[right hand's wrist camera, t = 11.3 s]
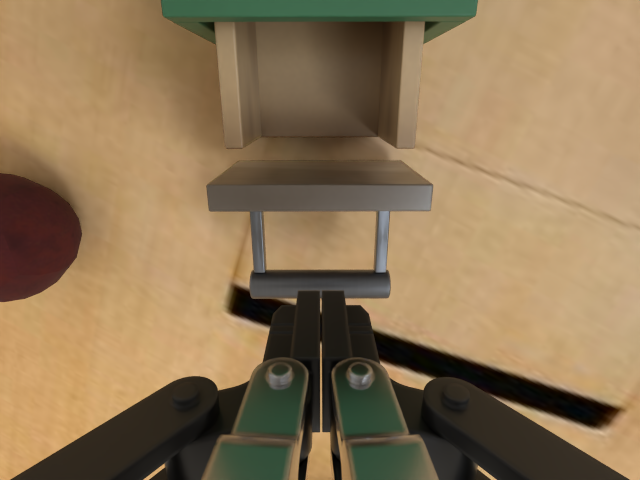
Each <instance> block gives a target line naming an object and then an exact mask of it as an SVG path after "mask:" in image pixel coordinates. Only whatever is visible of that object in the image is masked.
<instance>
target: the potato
mask: <svg viewBox="0 0 640 480" xmlns="http://www.w3.org/2000/svg"><path fill="white" fill-rule="evenodd" d="M81 236H82V232H81V227H80V222H79V218H78V217H77V215H76V214H75V212H74V211H73V209H72V207H71V206H70V204H68V203H67V202H66V201H65V200H64V199H62V198H61V197H60V196H59V195H58V194H56V193H55V192H53V191H52V190H50V189H48V188H46V187H44V186H42V185H39V184H37V183H35V182H33V181H30V180H28V179H26V178H23V177H20V176H16V175H12V174H2V173H0V302H7V301H13V300H20V299H25V298H28V297H30V296H33V295H35V294H38V293H40V292H42V291H44V290H45V289H47V288H48V287H50V286H51V285H53V284H54V283H56V282H57V281H58V280H59V279H60V277H61V276H62V275H63V274H64V272H65V271H66V270H67V269H68V268H69V266H70V265H71V264H72V262H73V261H74V260H75V259H76V257H77V253H78V249H79V245H80V240H81Z"/></svg>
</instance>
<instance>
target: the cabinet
mask: <svg viewBox="0 0 640 480" xmlns="http://www.w3.org/2000/svg"><path fill="white" fill-rule="evenodd" d="M477 3H478V0H161V5H162V13H163V16H164V17H165V18H167V19H169V20H171V21H173V22H174V23H176V24H178V25H180V26H182V27H183V28H185V29H187V30H189V31H191V32H193V33H195V34H197V35H199V36H201V37H202V38H204V39H206V40H208V41H210V42H212V43H214V44H216V38H215V27H214V22H395V21H425V28H424V40H423V44H424V43H426V42H428V41H430V40H432V39H434V38H436V37H438V36H439V35H441V34H443V33H445V32H447V31H449V30H451V29H452V28H454V27H456V26H458V25H460V24H462V23H464V22H466V21H467V20H469V19H471V18H473V17H475V15H476V11H477Z"/></svg>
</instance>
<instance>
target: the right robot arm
mask: <svg viewBox="0 0 640 480" xmlns="http://www.w3.org/2000/svg"><path fill="white" fill-rule="evenodd" d="M312 432H320V290H298V295H297V303H296V305H281V307H280V308H279V309H278V310H277V311H276V312H275V313H274V314H273V317H272V322H271V327H270V331H269V336H268V340H267V345H266V350H265V354H264V359H263V363H261V364H260V365H258V366H257V367H256V368H255V369H254V371H253V373H252V375H251V378H250V380H249V381H248V382H246V383H244V384H241V385H239V386H236V387H232V388H228V389H223V390H219V391H218V389H217V386H216V385H215V383H214V382H213V381H212V380H210V379H208V378H205V377H200V376H192V377H185V378H181V379H178V380H176V381H173V382H172V383H170V384H168V385H166V386H165V387H163V388H161V389H160V390H158V391H156V392H155V393H153V394H151V395H150V396H148V397H146V398H145V399H143V400H141V401H140V402H138V403H136V404H135V405H133V406H132V407H130V408H128V409H127V410H125V411H123V412H122V413H120V414H118V415H117V416H115V417H113V418H112V419H110V420H108V421H107V422H105V423H103V424H102V425H100V426H98V427H97V428H95V429H93V430H92V431H90V432H89V433H87V434H85V435H84V436H82V437H80V438H79V439H77V440H75V441H74V442H72V443H70V444H69V445H67V446H65V447H64V448H62V449H60V450H59V451H57V452H55V453H54V454H52V455H50V456H49V457H47V458H46V459H44V460H42V461H41V462H39V463H37V464H36V465H34V466H32V467H31V468H29V469H27V470H26V471H24V472H22V473H21V474H19V475H17V476H16V477H14V478H12V479H11V480H143V479H144V478H146V477H147V476H148V475H150V474H151V473H152V472H154V471H155V470H156V469H157V468H159V467H160V466H161V465H163V464H164V463H165V468H164V469H162V470H161V471H160V472H158V473H157V474H156V475H155V476H153V477H152V478H151V479H149V480H307V479H308V470H309V459H310V456H309V453H310V451H311V448H312ZM322 432H330V440H331V456H330V459H331V470H332V479H333V480H491V479H489V478H488V477H487V476H485V475H484V474H483V473H482V472H480V471H479V470H478V469H477V467H478V465H479V466H480V467H481V468H483V469H484V470H485V471H486V472H488V473H489V474H490V475H492V476H493V477H494V478H496V479H497V480H629V479H628V478H626V477H624V476H623V475H621V474H619V473H618V472H616V471H614V470H613V469H611V468H609V467H608V466H606V465H604V464H603V463H601V462H599V461H598V460H596V459H595V458H593V457H591V456H590V455H588V454H586V453H585V452H583V451H581V450H580V449H578V448H576V447H575V446H573V445H571V444H570V443H568V442H566V441H565V440H563V439H561V438H560V437H558V436H556V435H555V434H553V433H551V432H550V431H548V430H547V429H545V428H543V427H542V426H540V425H538V424H537V423H535V422H533V421H532V420H530V419H528V418H527V417H525V416H523V415H522V414H520V413H518V412H517V411H515V410H513V409H512V408H510V407H508V406H507V405H505V404H504V403H502V402H500V401H499V400H497V399H495V398H494V397H492V396H490V395H489V394H487V393H485V392H484V391H482V390H480V389H479V388H477V387H475V386H474V385H472V384H470V383H468V382H466V381H464V380H461V379H457V378H452V377H441V378H436V379H433V380H431V381H430V382H428V383H427V385H426V386H425V388H424V390H420V389H416V388H412V387H408V386H404V385H402V384H399V383H397V382H395V381H393V380H392V379H391V378H389V375H388V373H387V371H386V369H385V368H384V367H383V366H382V365H380V361H379V357H378V352H377V348H376V344H375V339H374V335H373V330H372V326H371V322H370V317H369V314H368V313H367V312H366V311H365V310H364V309H363V308H362V306H361V305H346V303H345V295H344V290H322Z"/></svg>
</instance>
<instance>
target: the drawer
mask: <svg viewBox="0 0 640 480" xmlns="http://www.w3.org/2000/svg"><path fill="white" fill-rule="evenodd" d="M214 27H215V38H216V50H217V61H218V73H219V85H220V96H221V108H222V119H223V131H224V143H225V148H227V149H242V148H244V147H246V146H247V145H249V144H250V143H252V142H254V141H255V140H257V139H258V138H260V137H380V138H381V139H383V140H384V141H386V142H387V143H389V144H391V145H392V146H394V147H395V148H397V149H413V148H414V147H415V138H416V126H417V114H418V101H419V89H420V77H421V65H422V52H423V40H424V28H425V21H395V22H214ZM206 187H207V196H208V205H209V211H211V212H221V211H250V220H251V235H252V250H253V265H254V270H252V272H251V275H250V295H251V298H253V299H255V298H297V295H298V290H320V298H322V290H344V295H345V298H389V295H390V274H389V271H388V270H386V265H387V249H388V234H389V218H390V211H430V210H431V202H432V192H433V184H431V183H430V182H429V181H427V180H426V179H425V178H423V177H422V176H421V175H419V174H418V173H417V172H415V171H414V170H413V169H412V168H410V167H409V166H408V165H406V164H405V163H404V162H402V161H238V162H237V163H235V164H234V165H233V166H231V167H230V168H229V169H227V170H226V171H225V172H223V173H222V174H221V175H219V176H218V177H217V178H215V179H214V180H213V181H212V182H210V183H209V184H208V185H207V186H206ZM263 211H377V212H376V232H375V251H374V270H266V252H265V233H264V215H263Z"/></svg>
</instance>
